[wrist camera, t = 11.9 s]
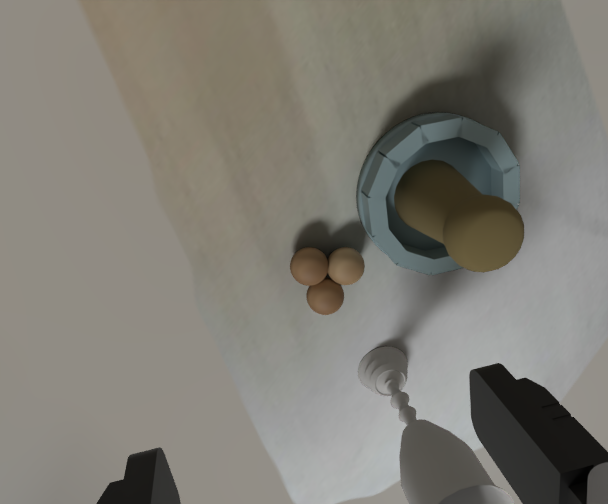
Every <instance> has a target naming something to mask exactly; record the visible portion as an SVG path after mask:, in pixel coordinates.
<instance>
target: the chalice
mask: <svg viewBox="0 0 608 504" xmlns="http://www.w3.org/2000/svg"><path fill="white" fill-rule="evenodd" d="M407 367H408V364H407V359H406V356H405V354H404V353H403V352H402V351H400V350H399V349H397V348H394V347H387V346H384V347H380V348H376V349H374V350H372V351H370V352H369V353H368V354H367V355H366V356H365V357H364V358H363V359H362V361H361V362H360V364H359V368H358V377H359V379H360V381H361V383H362V384H363V385H364V386H365V387H366V388H369V389H370V390H371V391H373V392H375V393H376V394H378V395H381V396H390V395H392V398H391V406H392V407H393V408H396V409H399V419H400V420H401V421H402V422H405V423H406V425H407V426H406V428H405V429H404V431H403V434H402V440H401V449H400V474H401V486H402V489H403V491H404V493H405V495H406V498H407V500H408V502H409V504H515V503H514V500H513V498H512V497H511V496H510V495H509V494H508V493H507V492H506V491H505V490H503V489H501V488H499V487H497V486H496V485H494V483H493V482H492V480H491V478H490V477H489V475H488V474H487V472H486V471H485V469H484V468H483V466H482V465H481V463H480V461H479V460H478V458H477V457H476V455H475V454H474V452H473V451H472V449H471V448H470V447H469V446H468V445H467V444H466V443H465V442H463V441H462V440H461V439H459V438H458V437H456V436H455V435H454V434H452V433H451V432H449V431H448V430H446V429H443V428H441V427H439V426H437V425H435V424H433V423H431V422H429V421H426V420H416V410H415V409H414V408H413V407H411V406H409V405H408V402H409V396H408V394H407V393H405V392H401V390H402V388H403V387H404V385H405V384H406V381H407Z"/></svg>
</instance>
